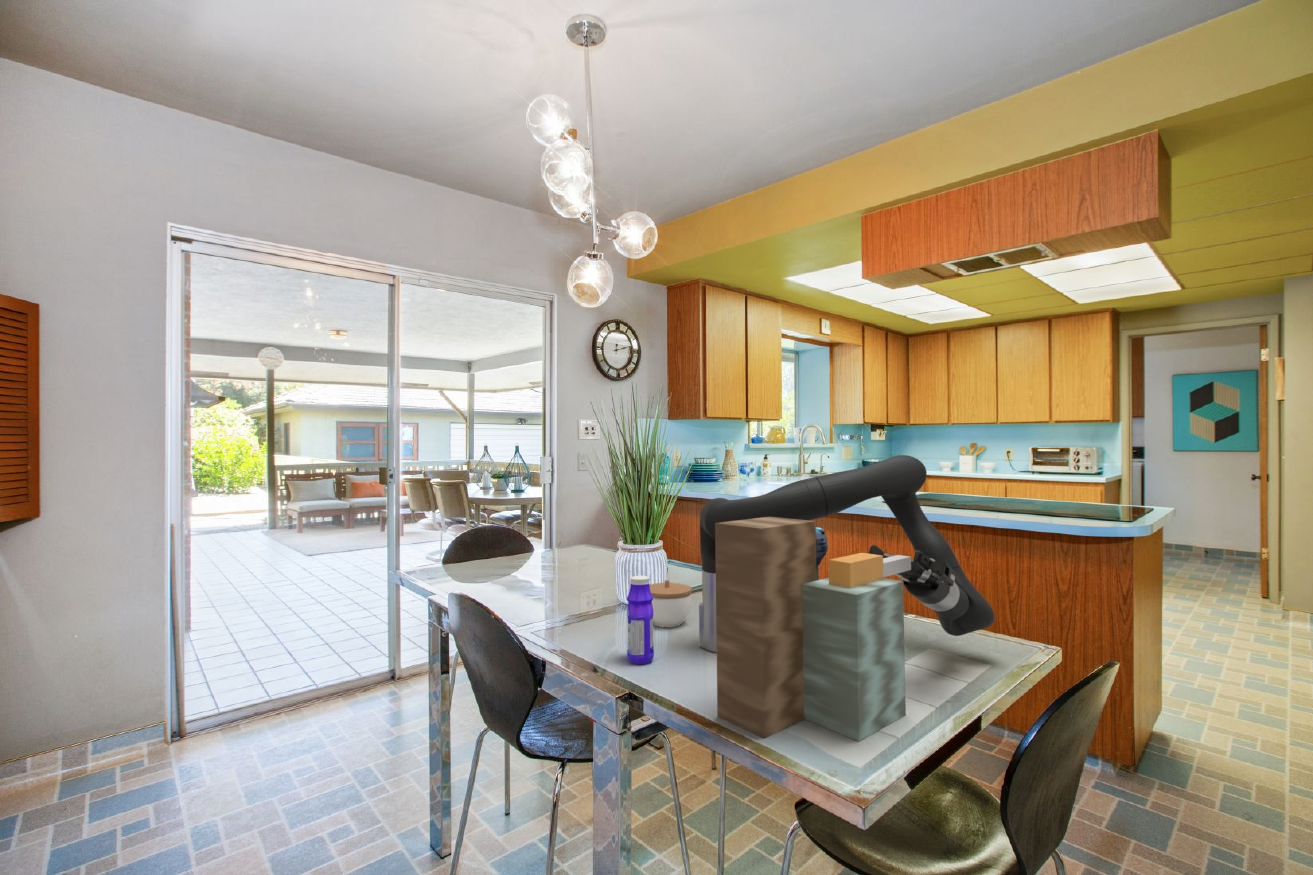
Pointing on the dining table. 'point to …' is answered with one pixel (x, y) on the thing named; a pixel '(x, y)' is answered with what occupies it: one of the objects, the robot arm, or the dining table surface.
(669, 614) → the lidded bowl
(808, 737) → the dining table surface
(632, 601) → the bottle
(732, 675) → the stand
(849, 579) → the white and orange block
